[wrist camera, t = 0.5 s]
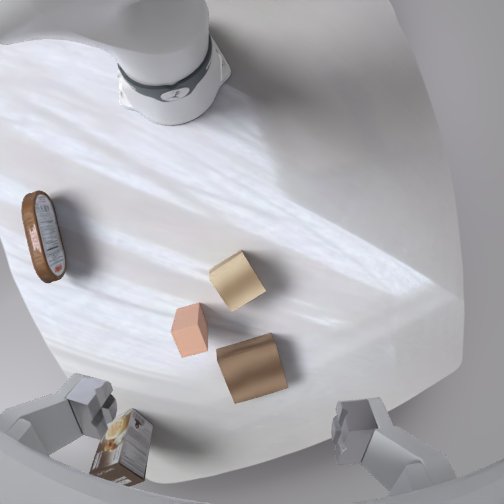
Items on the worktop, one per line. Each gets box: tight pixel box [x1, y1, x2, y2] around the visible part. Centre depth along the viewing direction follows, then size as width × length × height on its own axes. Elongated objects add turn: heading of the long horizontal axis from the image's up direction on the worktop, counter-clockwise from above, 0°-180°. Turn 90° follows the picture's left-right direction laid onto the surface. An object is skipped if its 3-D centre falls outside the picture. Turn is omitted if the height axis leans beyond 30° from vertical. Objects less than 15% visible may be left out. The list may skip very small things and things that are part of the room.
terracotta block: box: [171, 303, 208, 358], centre depth 46 cm, size 4×4×9 cm
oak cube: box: [209, 250, 266, 312], centre depth 47 cm, size 6×6×6 cm
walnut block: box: [216, 333, 288, 404], centre depth 51 cm, size 10×10×4 cm
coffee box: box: [89, 408, 153, 487], centre depth 45 cm, size 9×6×16 cm
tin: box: [21, 191, 66, 283], centre depth 40 cm, size 15×3×8 cm, turn 12°
